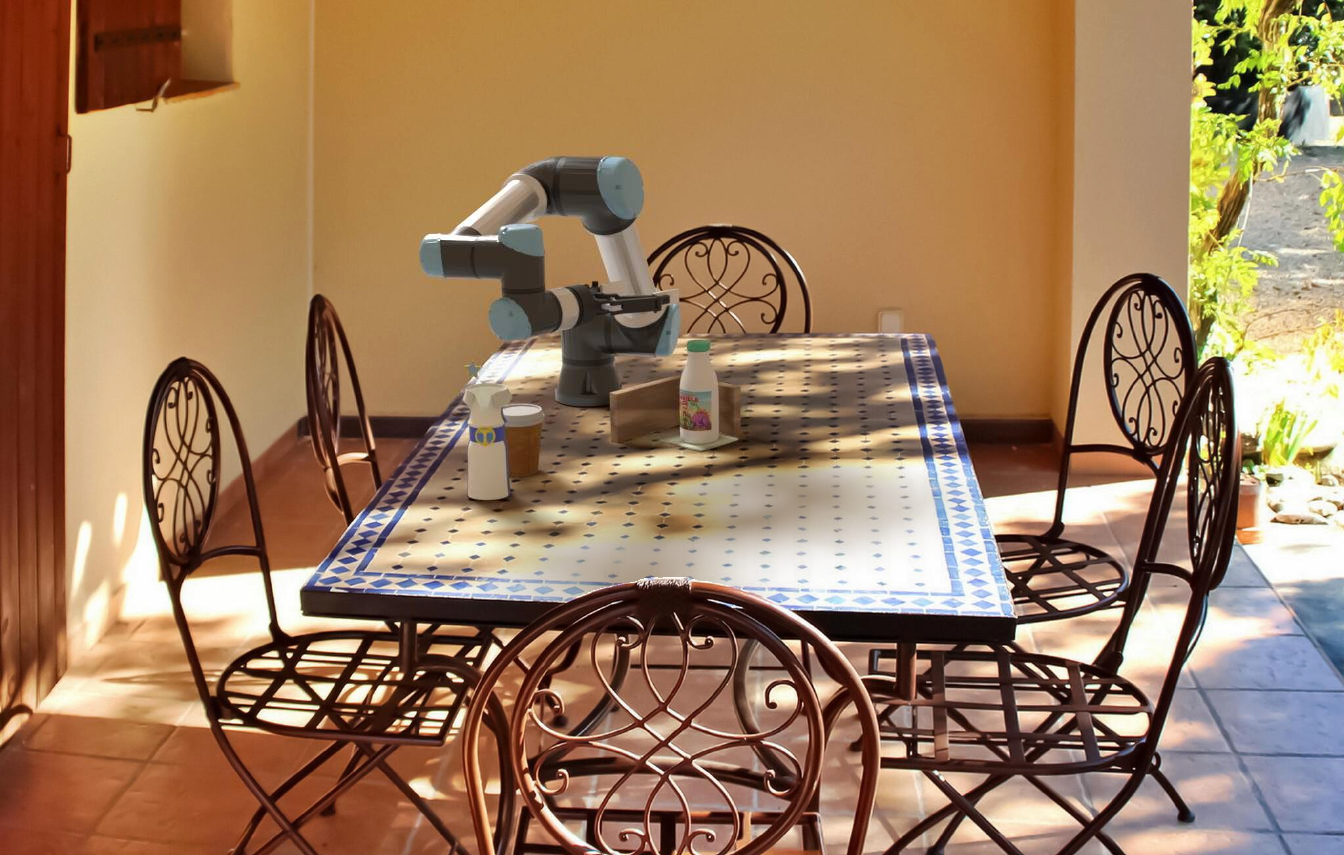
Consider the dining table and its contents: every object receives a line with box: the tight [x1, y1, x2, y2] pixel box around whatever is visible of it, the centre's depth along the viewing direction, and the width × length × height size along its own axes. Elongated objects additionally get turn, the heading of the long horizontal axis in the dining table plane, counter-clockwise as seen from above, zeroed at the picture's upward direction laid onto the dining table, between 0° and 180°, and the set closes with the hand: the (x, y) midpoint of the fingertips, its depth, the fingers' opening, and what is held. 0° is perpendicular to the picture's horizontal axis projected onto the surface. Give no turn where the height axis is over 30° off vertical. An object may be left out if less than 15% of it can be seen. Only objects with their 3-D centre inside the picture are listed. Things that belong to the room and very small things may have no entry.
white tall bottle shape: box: [462, 359, 513, 501], centre depth 253 cm, size 8×9×25 cm
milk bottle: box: [679, 339, 720, 444], centre depth 284 cm, size 8×8×20 cm
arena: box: [609, 373, 742, 453], centre depth 287 cm, size 18×21×10 cm
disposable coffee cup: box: [503, 403, 545, 477], centre depth 267 cm, size 10×10×12 cm
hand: (651, 291), depth 270 cm, fingers open, 13 cm apart
